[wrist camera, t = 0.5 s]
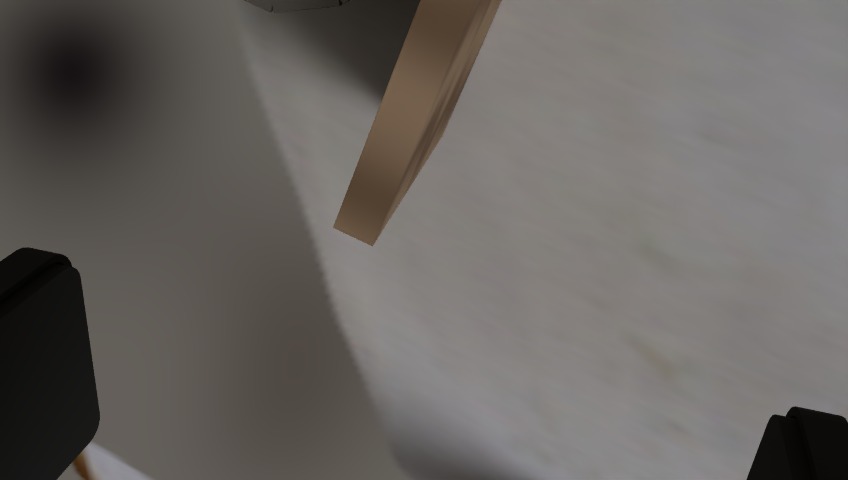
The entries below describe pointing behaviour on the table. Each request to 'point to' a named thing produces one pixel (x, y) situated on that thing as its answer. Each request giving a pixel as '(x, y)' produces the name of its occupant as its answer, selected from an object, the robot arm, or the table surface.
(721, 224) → the table surface
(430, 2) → the bracket
